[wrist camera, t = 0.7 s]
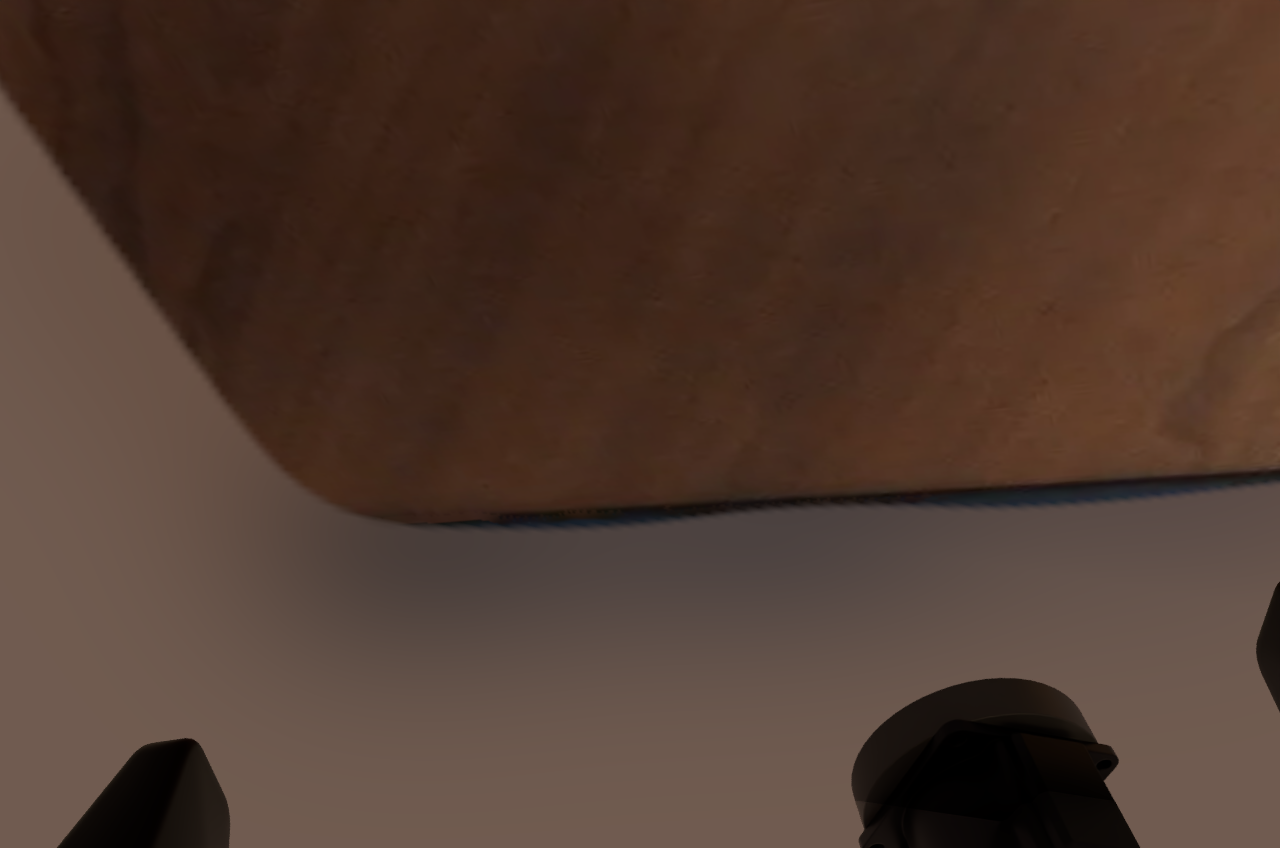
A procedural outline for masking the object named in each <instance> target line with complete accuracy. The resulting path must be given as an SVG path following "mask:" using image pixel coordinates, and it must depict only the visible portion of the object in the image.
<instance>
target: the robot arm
mask: <svg viewBox="0 0 1280 848" xmlns="http://www.w3.org/2000/svg"><path fill="white" fill-rule="evenodd" d="M1256 654H1257V661H1258V664H1259V668H1260V671H1261V673H1262V676H1263V678H1264V680H1265V682H1266V684H1267V686H1268V688H1269V690H1270V692H1271V695H1272V697H1273V699H1274V701H1275V703H1276V705H1277V707H1278V709H1279V711H1280V582H1279V583H1278V584H1277V586H1276V588H1275V591H1274V593H1273V596H1272V599H1271V602H1270V605H1269V608H1268V611H1267V614H1266V616H1265V620H1264V622H1263V625H1262V628H1261V631H1260V634H1259V637H1258V640H1257V648H1256ZM1118 763H1119V759H1118V757H1117V755H1116V753H1115V752H1114V750H1113V749H1112V747H1111V746H1109V745H1105V744H1099V743H1094V742H1088V741H1082V740H1076V739H1071V738H1065V737H1059V736H1053V735H1048V734H1042V733H1036V732H1030V731H1025V730H1019V729H1013V728H1007V727H1002V726H996V725H990V724H984V723H979V722H973V721H967V720H961V719H955V720H951V721H948V722H947V723H945V724H943V725H942V726H941V727H940V728H939V730H938V731H937V732H936V734H935V735H934V736H933V738H932V739H931V740H930V742H929V743H928V745H927V746H926V747H925V749H924V750H923V751H922V753H921V754H920V755H919V757H918V758H917V759H916V761H915V762H914V764H913V765H912V766H911V768H910V769H909V770H908V772H907V773H906V774H905V776H904V777H903V779H902V780H901V781H900V783H899V784H898V785H897V787H896V788H895V789H894V791H893V792H892V793H891V795H890V796H889V798H888V799H887V800H886V802H885V803H884V804H883V806H882V807H881V808H880V810H879V811H878V812H877V814H876V815H875V817H874V818H873V819H872V821H871V822H870V823H869V825H868V826H867V827H866V829H865V830H864V832H863V833H862V834H861V836H860V837H859V844H860V847H861V848H1140V847H1139V845H1138V843H1137V841H1136V839H1135V837H1134V835H1133V834H1132V832H1131V830H1130V828H1129V826H1128V824H1127V823H1126V821H1125V819H1124V817H1123V815H1122V813H1121V811H1120V810H1119V808H1118V806H1117V804H1116V802H1115V800H1114V799H1113V797H1112V795H1111V793H1110V791H1109V789H1108V787H1107V786H1106V784H1105V782H1104V780H1105V779H1106V778H1107V777H1108V776H1109V775H1110V774H1111V773H1112V771H1113V770H1114V769H1115V768H1116V767H1117V765H1118ZM229 837H230V815H229V808H228V804H227V800H226V798H225V795H224V793H223V791H222V789H221V787H220V785H219V783H218V781H217V778H216V776H215V774H214V773H213V770H212V768H211V766H210V764H209V762H208V759H207V757H206V755H205V753H204V751H203V749H202V748H201V746H200V745H199V743H198V742H196V741H195V740H193V739H188V738H184V739H177V740H170V741H163V742H156V743H151V744H147V745H145V746H143V747H141V748H140V749H139V750H137V751H136V752H135V753H134V754H133V755H132V756H131V758H130V759H129V760H128V761H127V762H126V764H125V765H124V766H123V768H122V769H121V770H120V771H119V772H118V773H117V775H116V776H115V777H114V778H113V780H112V781H111V782H110V783H109V785H108V786H107V787H106V788H105V789H104V791H103V792H102V793H101V794H100V796H99V797H98V798H97V799H96V800H95V802H94V803H93V804H92V805H91V807H90V808H89V809H88V810H87V811H86V813H85V814H84V815H83V816H82V818H81V819H80V820H79V821H78V823H77V824H76V825H75V826H74V827H73V829H72V830H71V831H70V832H69V834H68V835H67V836H66V837H65V838H64V840H63V841H62V842H61V844H60V845H59V846H58V847H57V848H229Z"/></svg>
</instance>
